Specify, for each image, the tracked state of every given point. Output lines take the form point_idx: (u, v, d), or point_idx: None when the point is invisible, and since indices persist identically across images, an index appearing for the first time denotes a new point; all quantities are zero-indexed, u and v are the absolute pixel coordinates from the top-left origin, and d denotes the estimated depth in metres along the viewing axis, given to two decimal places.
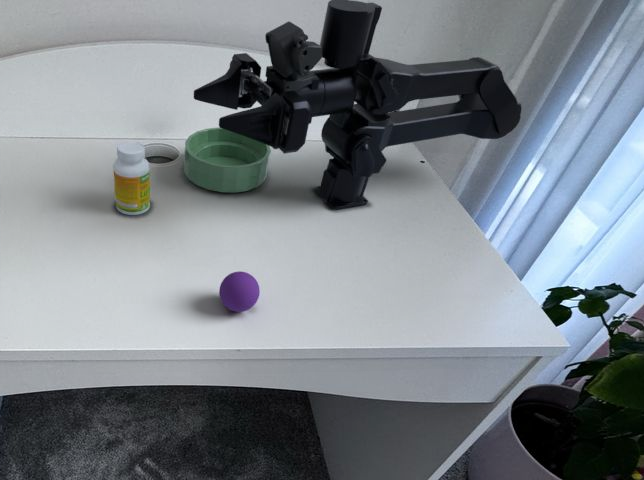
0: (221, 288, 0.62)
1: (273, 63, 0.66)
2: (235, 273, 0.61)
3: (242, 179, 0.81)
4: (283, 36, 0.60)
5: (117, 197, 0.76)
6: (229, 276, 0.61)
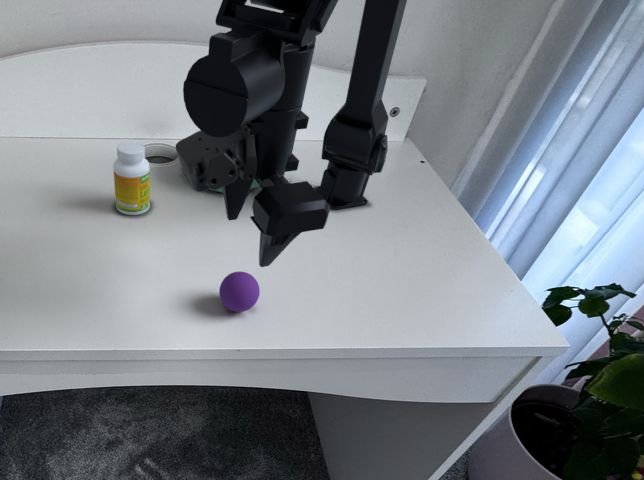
0: (221, 288, 0.62)
1: None
2: (235, 273, 0.61)
3: None
4: (190, 181, 0.48)
5: (117, 197, 0.76)
6: (229, 276, 0.61)
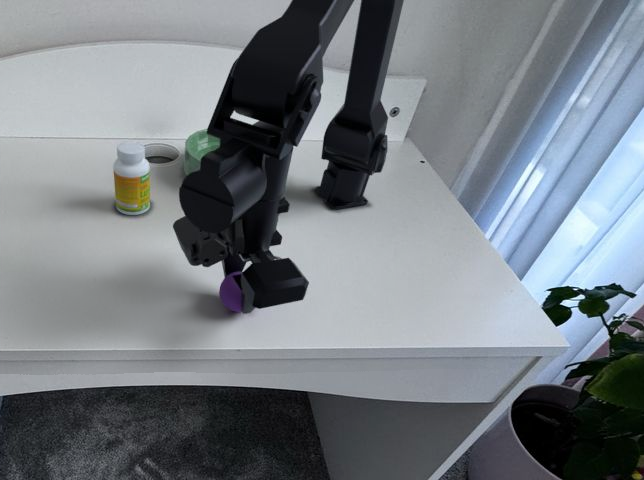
0: (221, 288, 0.62)
1: None
2: (235, 273, 0.61)
3: None
4: (186, 256, 0.54)
5: (117, 197, 0.76)
6: (229, 276, 0.61)
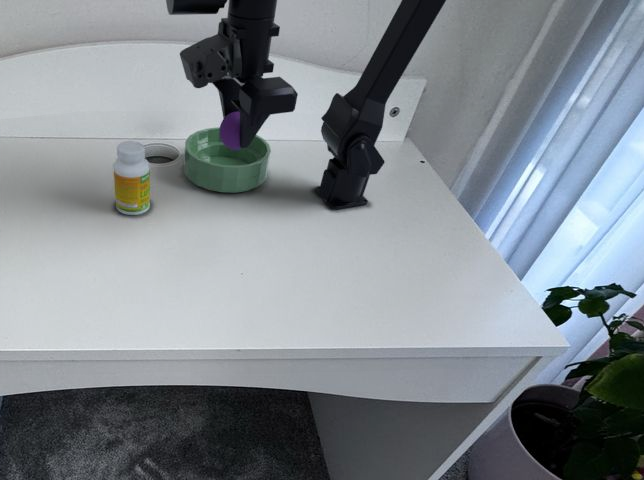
0: (221, 126, 0.70)
1: None
2: (233, 112, 0.70)
3: (242, 179, 0.81)
4: (192, 79, 0.63)
5: (117, 197, 0.76)
6: (228, 115, 0.70)
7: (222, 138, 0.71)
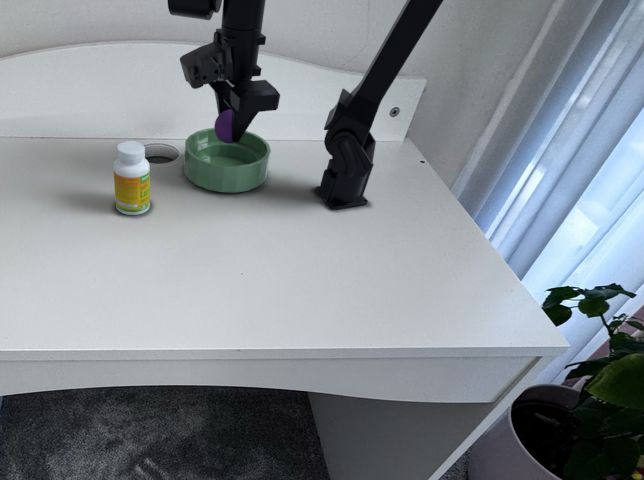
0: (216, 122, 0.80)
1: None
2: (226, 110, 0.80)
3: (242, 179, 0.81)
4: (189, 81, 0.73)
5: (117, 197, 0.76)
6: (222, 112, 0.80)
7: (216, 133, 0.81)
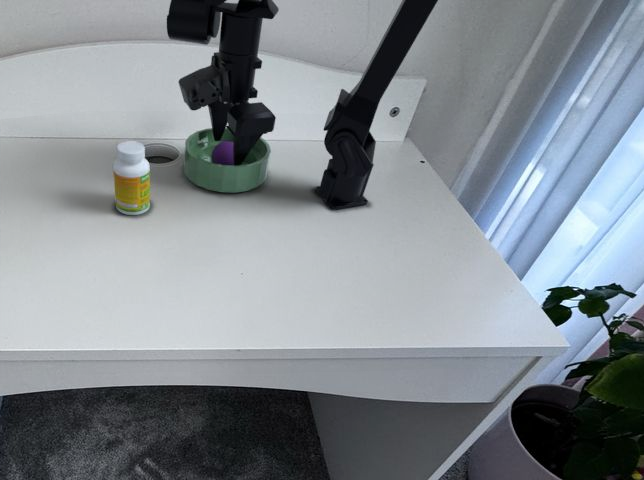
0: (212, 153, 0.84)
1: None
2: None
3: (242, 179, 0.81)
4: (188, 103, 0.75)
5: (117, 197, 0.76)
6: (218, 144, 0.84)
7: None
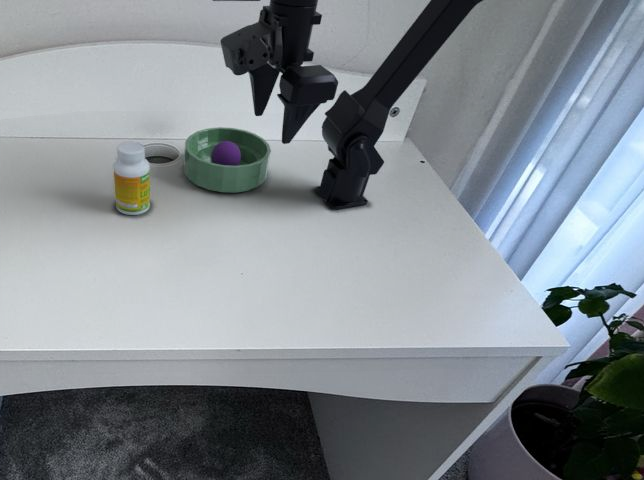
0: (212, 153, 0.84)
1: None
2: None
3: (242, 179, 0.81)
4: (232, 67, 0.63)
5: (117, 197, 0.76)
6: (218, 143, 0.84)
7: None
